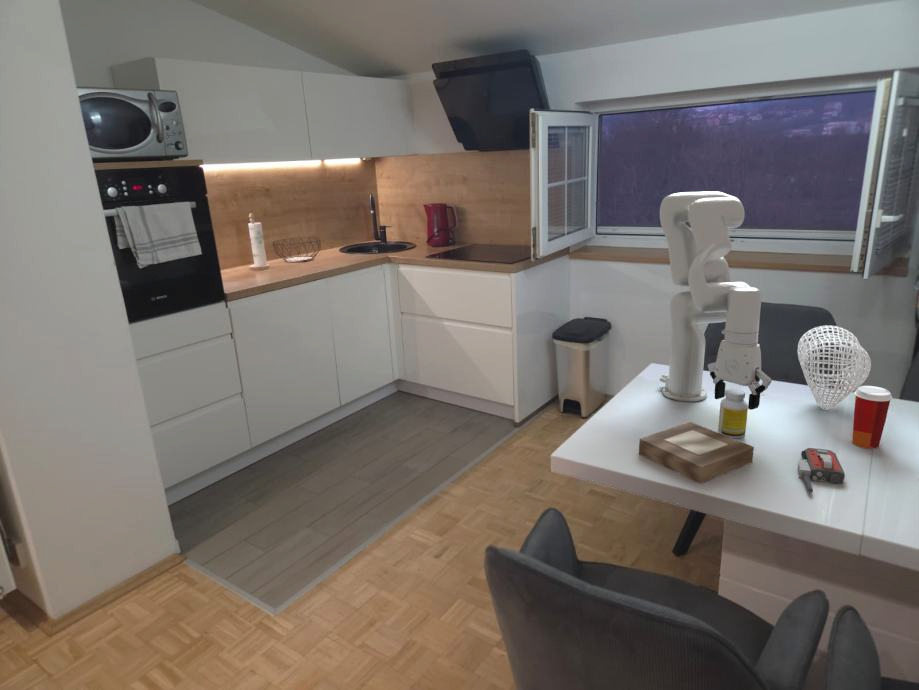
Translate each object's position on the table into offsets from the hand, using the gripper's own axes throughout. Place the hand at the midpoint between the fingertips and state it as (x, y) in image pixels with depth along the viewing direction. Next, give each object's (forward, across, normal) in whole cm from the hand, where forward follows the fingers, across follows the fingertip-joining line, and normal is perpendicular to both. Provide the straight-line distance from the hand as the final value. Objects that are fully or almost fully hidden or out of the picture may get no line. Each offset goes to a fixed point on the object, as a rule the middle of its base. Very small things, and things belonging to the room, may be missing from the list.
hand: (735, 403), depth 160 cm
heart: (+8, +3, +36) cm, 37 cm away
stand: (+9, +3, -18) cm, 21 cm away
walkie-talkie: (+10, +24, -3) cm, 26 cm away
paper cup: (+9, +21, +22) cm, 31 cm away
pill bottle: (+9, -1, 0) cm, 9 cm away
